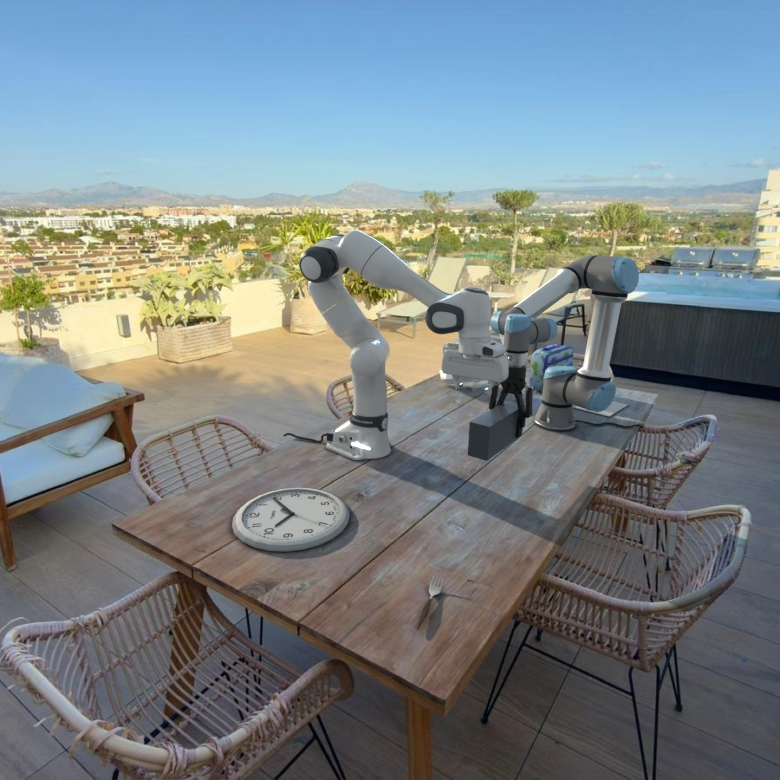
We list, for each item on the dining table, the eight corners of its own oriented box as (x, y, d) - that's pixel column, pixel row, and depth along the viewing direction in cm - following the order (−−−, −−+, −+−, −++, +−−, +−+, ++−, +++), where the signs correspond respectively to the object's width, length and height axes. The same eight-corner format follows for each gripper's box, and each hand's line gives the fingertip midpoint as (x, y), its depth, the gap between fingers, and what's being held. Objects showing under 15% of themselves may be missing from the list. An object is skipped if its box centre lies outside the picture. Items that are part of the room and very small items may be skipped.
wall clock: (350, 543, 123) (219, 547, 120) (350, 549, 123) (220, 553, 121) (349, 483, 151) (243, 486, 149) (349, 488, 152) (243, 491, 149)
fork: (410, 630, 99) (410, 621, 98) (433, 579, 113) (433, 571, 113) (423, 633, 98) (424, 625, 97) (444, 582, 112) (445, 574, 112)
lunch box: (545, 397, 238) (550, 352, 231) (524, 391, 245) (529, 348, 239) (572, 386, 255) (578, 344, 249) (552, 381, 262) (557, 340, 256)
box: (503, 430, 174) (506, 400, 171) (522, 435, 170) (525, 404, 167) (467, 455, 155) (469, 421, 152) (487, 461, 151) (489, 426, 148)
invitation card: (608, 416, 214) (573, 407, 224) (608, 416, 214) (573, 408, 224) (628, 404, 229) (594, 396, 238) (628, 405, 229) (594, 397, 238)
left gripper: (437, 343, 152) (437, 389, 156) (502, 351, 140) (500, 400, 144) (448, 340, 157) (448, 384, 161) (512, 347, 145) (510, 394, 149)
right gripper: (480, 361, 165) (475, 430, 171) (539, 372, 153) (532, 444, 160) (491, 357, 170) (486, 423, 177) (549, 367, 159) (541, 437, 166)
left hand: (473, 392), depth 153 cm, fingers open, 8 cm apart
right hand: (508, 433), depth 169 cm, fingers closed on box, 6 cm apart
